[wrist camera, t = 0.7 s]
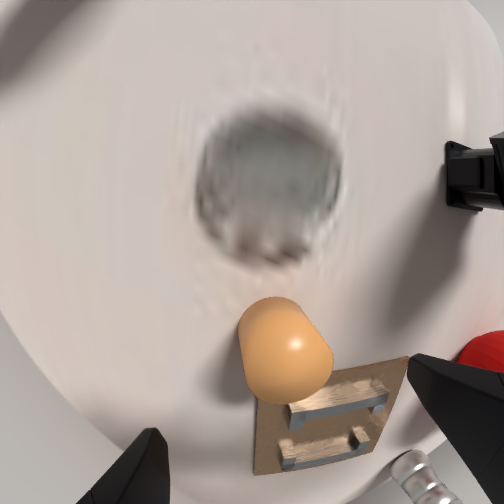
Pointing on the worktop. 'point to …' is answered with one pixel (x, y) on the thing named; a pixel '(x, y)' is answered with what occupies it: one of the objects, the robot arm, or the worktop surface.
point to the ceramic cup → (485, 352)
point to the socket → (328, 419)
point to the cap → (282, 352)
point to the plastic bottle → (421, 480)
